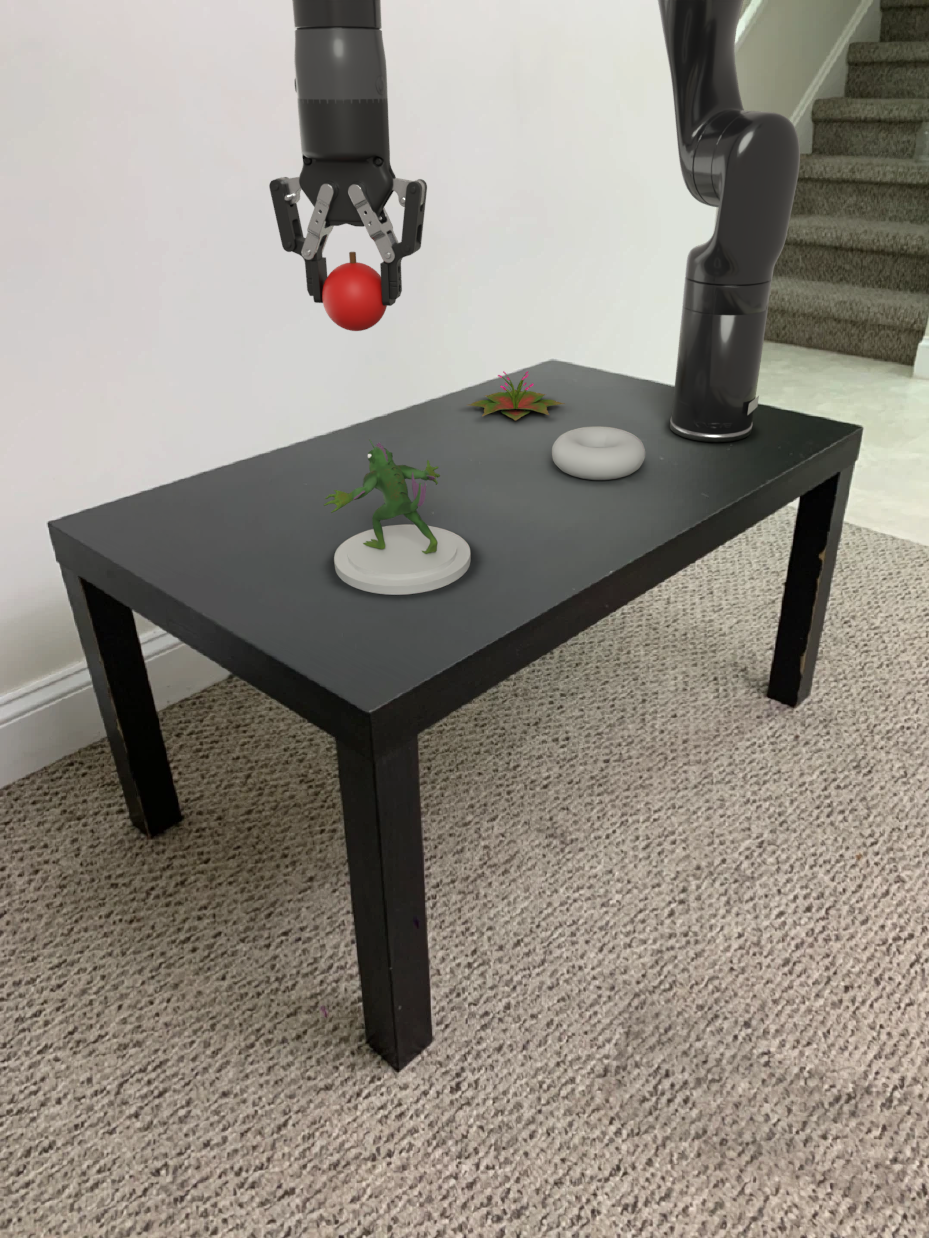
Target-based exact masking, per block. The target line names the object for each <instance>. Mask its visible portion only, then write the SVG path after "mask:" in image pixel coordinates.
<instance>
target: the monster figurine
mask: <svg viewBox="0 0 929 1238" xmlns="http://www.w3.org/2000/svg"><path fill="white" fill-rule="evenodd" d="M368 441H369V442H370V443H371V445H372V449H371V450H369V451H368V452H367V460H368V462H369V464H368V469H369V472H367V473H366V474H365V475H364V477H363V479H362V486H358V487H356V488H354V489H353V490H352V491H350V492H345V491H342V490H339V489H333V492H334V493H329V494H328V495H326V497H325V498H324V500H328V499H330V498H334V499H331V500H329V501H327V502H326V503H324V504H323V506H324V507H325V506H328V505H332V504H333V505H336V507H335V508H334V509H333V510H332V511H331V512H330V513H331V514H332V513H334V512H336V511H338V510H340V509H342V508H343V507H345V506H347V505H348V504H350V503H351V502H353V501H357V500H360V499H362V498H364V497H366V496H367V495H369V493H371V492H372V491H373V490H374V489H376V490H378V491H380V493H382V499H383V504H381V506H379V507H378V508H377V509H376V510H375V511H374V512H373V513H372V517H371V521H372V528H371V529H367V530H365V531H361V532H359V533H357V534H355V535H353V536H351V537H349V538H348V539H346V540H344V541H343V542H342V543H341V544H340V545H339V546H338V547H337V548H336V550H335V553H334V555H333V556H334V557H333V562H334V569H335V573H336V575H337V576H338V578H339V579H341V581H342V582H344V583H345V584H347V585H348V586H351V587H353V588H355V589H358V590H361V591H364V592H368V593H373V594H380V595H390V596H391V595H394V596H395V595H397V596H398V595H399V596H401V595H412V594H413V595H414V594H421V593H427V592H431V591H435V590H437V589H441V588H443V587H445V586H448V585H450V584H453V583H454V582H456V581H458V580H459V579H460V578H461V577H463V576H464V575H465V574H466V572H467V571H468V570H469V568H470V567H471V561H472V559H471V548H470V545H469V544H468V542H467V541H466V539H464V538H462V536H460V535H459V534H456V533H455V532H453V531H450V530H447V529H445V528H441V527H437V526H431V525H428V524H427V523H426V522H425V521H424V520H423V519H422V517H421V515H420V514H419V512H418V511H417V510H418V508H419V507H422V506H423V505H424V503H425V499H426V494H427V482H426V481H432V482H433V483H435V485H438V484H439V482H438V480H437V478H440V477H441V475H440V473H437V472H435V470H438V469H439V466H438V465H436V466H432V465H431V463H430V460H429V459H427V460H426V467H425V469H423V470H421V469H418V468H416V467H413V466H409V465H406V464H399V465H398V464H396V463H395V461H394V459H393V452H391V451H389V450H388V449H387V448H386V447H384V445H382V444H381V442H378V443H376V445H375V446H374V444H373V442H372V440H371V438H368ZM419 479H421V480H423V481H425V482H424V485H422V483H421V482H419V483H417V482H416V480H419ZM406 480H411V486H412V487H411V489H412V494H413V501H412V500H411V499H410V497H409V490H408V485H407V482H406ZM401 515H403V516H404V517H405V518H406V519H408V520H409V522H412V523H413V524H392V525H386V526H382V524H381V521H384V520H390V519H393V518H395V517H398V516H401Z"/></svg>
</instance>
